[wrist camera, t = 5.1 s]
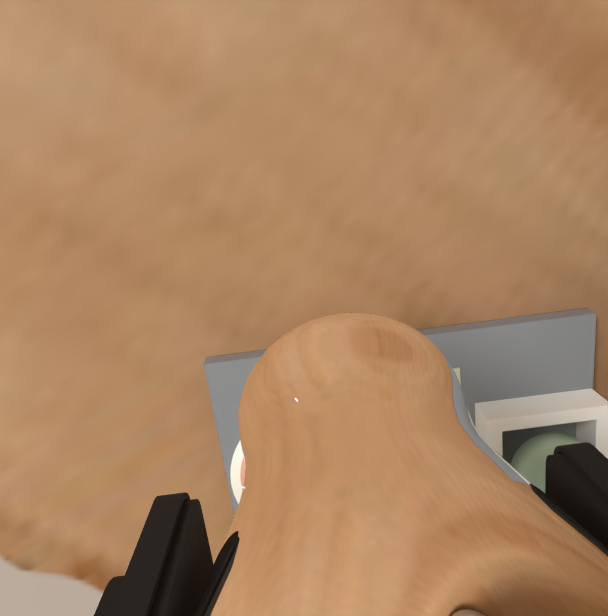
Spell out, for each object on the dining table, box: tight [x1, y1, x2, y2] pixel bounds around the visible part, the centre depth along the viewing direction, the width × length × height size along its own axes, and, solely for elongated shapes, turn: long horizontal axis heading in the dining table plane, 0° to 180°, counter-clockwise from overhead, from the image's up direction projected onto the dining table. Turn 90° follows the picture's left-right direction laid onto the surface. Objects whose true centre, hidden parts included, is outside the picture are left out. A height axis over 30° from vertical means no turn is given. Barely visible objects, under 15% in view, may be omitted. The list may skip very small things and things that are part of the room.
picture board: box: [204, 308, 608, 515], centre depth 31 cm, size 16×22×3 cm
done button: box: [511, 432, 581, 493], centre depth 28 cm, size 4×4×2 cm
